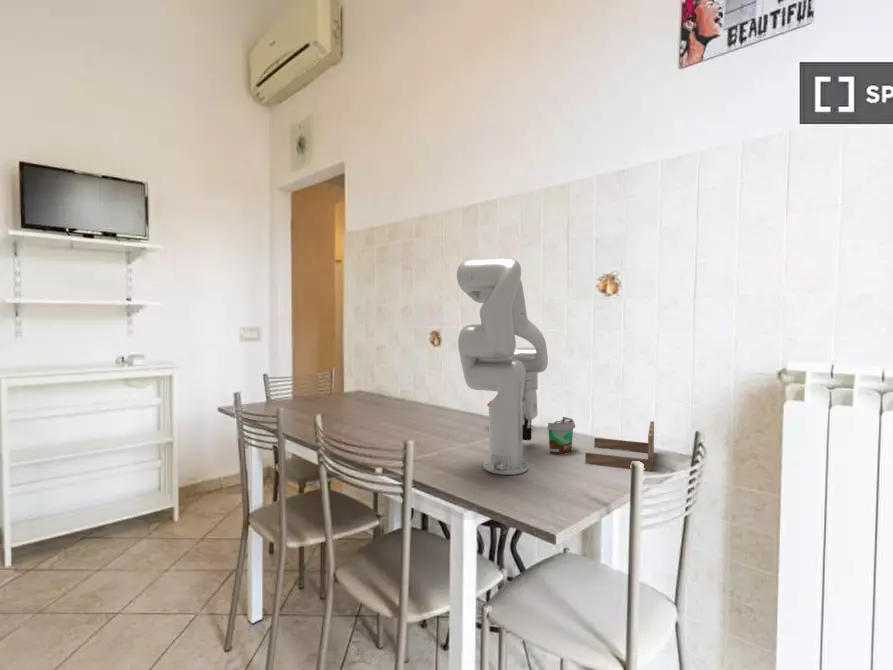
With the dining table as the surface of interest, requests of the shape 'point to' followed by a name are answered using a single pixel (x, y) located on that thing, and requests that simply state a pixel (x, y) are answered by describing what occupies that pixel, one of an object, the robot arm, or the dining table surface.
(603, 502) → the dining table surface
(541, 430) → the dining table surface
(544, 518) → the dining table surface
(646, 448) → the storage bay
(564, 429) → the food container
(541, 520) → the dining table surface
